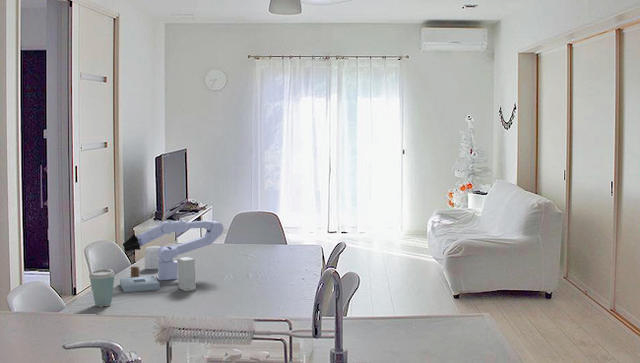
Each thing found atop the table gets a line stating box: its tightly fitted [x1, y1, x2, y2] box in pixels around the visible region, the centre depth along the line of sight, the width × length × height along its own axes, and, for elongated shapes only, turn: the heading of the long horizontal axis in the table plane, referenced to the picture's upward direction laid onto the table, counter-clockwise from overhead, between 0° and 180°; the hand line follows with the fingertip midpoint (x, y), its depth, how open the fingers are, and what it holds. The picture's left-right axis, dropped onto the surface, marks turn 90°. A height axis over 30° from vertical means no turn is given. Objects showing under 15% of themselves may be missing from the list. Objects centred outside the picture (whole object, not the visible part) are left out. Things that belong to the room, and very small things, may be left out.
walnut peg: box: [130, 265, 140, 278], centre depth 336 cm, size 4×4×7 cm
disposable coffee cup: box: [89, 268, 115, 308], centre depth 291 cm, size 11×11×15 cm
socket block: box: [119, 275, 160, 293], centre depth 325 cm, size 16×16×3 cm
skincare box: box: [176, 256, 197, 292], centre depth 321 cm, size 8×6×15 cm
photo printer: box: [144, 245, 161, 270], centre depth 363 cm, size 10×4×12 cm, turn 98°
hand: (124, 248), depth 333 cm, fingers open, 7 cm apart
